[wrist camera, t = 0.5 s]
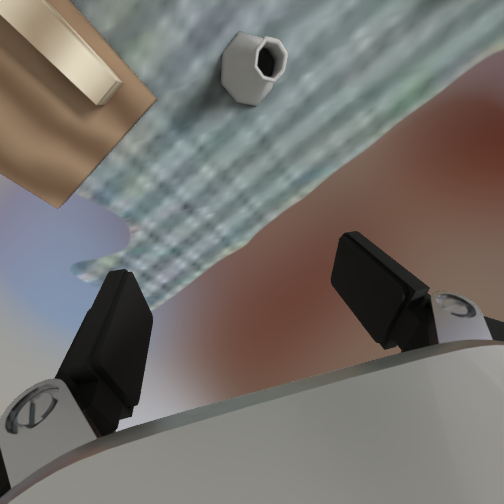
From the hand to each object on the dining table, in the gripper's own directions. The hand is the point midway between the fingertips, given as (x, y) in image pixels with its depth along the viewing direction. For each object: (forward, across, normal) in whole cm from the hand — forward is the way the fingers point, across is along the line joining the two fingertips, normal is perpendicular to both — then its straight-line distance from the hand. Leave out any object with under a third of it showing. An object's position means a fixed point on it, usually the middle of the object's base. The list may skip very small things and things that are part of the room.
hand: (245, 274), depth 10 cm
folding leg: (+26, +13, -13) cm, 32 cm away
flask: (+28, -7, -9) cm, 30 cm away
